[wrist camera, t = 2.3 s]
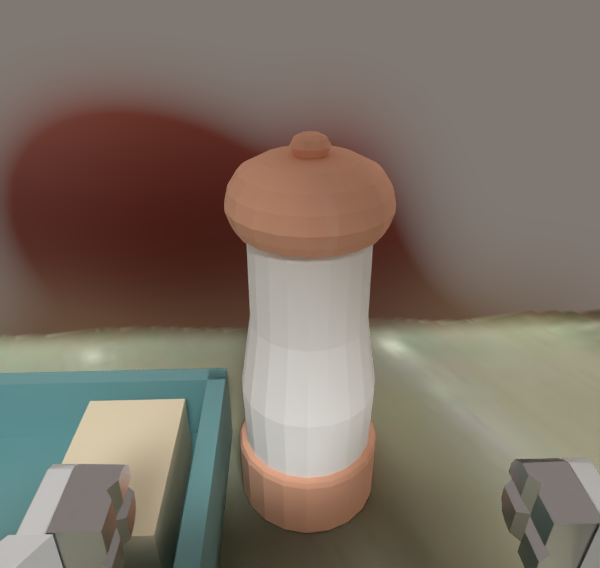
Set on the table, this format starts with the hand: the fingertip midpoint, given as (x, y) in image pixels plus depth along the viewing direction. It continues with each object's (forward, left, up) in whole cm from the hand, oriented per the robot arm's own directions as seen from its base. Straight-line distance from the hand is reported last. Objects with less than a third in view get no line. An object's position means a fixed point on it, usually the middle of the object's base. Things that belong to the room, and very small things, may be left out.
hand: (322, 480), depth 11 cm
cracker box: (+9, -10, -14) cm, 19 cm away
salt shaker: (0, -13, -15) cm, 20 cm away
